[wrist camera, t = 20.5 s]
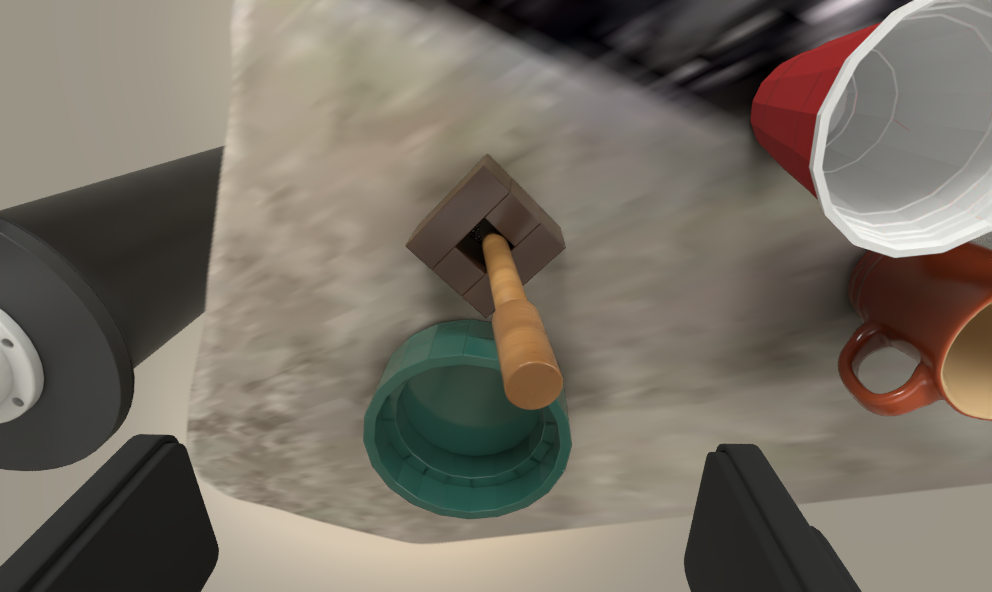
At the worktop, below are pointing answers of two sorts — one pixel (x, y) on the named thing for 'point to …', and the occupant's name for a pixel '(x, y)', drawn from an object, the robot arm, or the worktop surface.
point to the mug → (925, 328)
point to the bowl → (461, 428)
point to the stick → (518, 330)
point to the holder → (507, 210)
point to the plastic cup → (892, 127)
